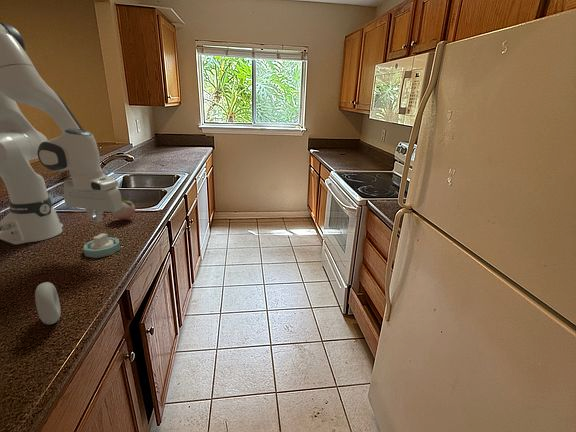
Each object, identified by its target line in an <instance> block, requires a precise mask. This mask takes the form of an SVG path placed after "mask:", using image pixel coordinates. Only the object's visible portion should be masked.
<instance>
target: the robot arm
mask: <svg viewBox="0 0 576 432" xmlns="http://www.w3.org/2000/svg"><path fill="white" fill-rule="evenodd" d="M24 40H25V39H24V38H23V36H22V35H21V33H20V32H19V31H18V29H17V28H15V27H14V26H12V25H10V24H7V23H6V22H0V178H1V180H2V181H3V183H4V185H5V188H6V190H7V194H8V197H9V200H10V202H7V203H6V206H7V207H9V213H7V214H6V215H5V216H4V217H3V218H2V219H1V220H0V229H1V230H0V240H2V241H4V242H7V243H9V244H13V245H14V246H15V245H16V246H17V245H21V244H25V243H32V242H33V243H34V242H35V243H36V242H39V241H44V240H48V239H51V238H54V237H56V236H58V235H60V234H62V232H63V227H64V224H63V223H61V222H60V219H59V216H58V213H57V211H56V209H55V208H54V207H53V204H52V203H53V202H52V198H51V197H50V196H49V194H48V189H47V185H46V183H45V179H44V177H43V176H42V175H41V174H39V173H37V172H36V170H35V169H33V166H32V164H31V163H30V161H33V160H37V159H38V160H39V162H40V163H41V165H42V166H43V167H45V168H46V169H47V170H50V171H57V172H59V171H64V170H65V171H66V170H68V171H69V172H70V174H69V175H70V177H71V179H69V178H68V179H66V180H64V182H63V200H64V203H65V205H66V206H67V207H69V208H76V209H77V208H78V209H85V212H86V213H87V214H88V216H89V217H90V220H91V221H92V222H98V223H100V222H102V221H103V213H104V212H110V213H112V212H116V211H118V210H120V209H121V208H122V206H123V205H122V201H123V199H121V198H122V195H121V191H120V190H119V188H118V186H119V182H118V180H117V179H116V178H113V177H110V176H108V175H106V173H105V174H104V172H103V168H102V167H101V164H100V160H101V156H100V152H99V147H98V144H97V141H96V138H95V136H94V135H93V133H92V132H91V131H88V130H86V129H84V128H83V127H82V125H81V124H80V123H79V121H78V120H77V118H76V117H75V116H74V114H73V112H72V111H71V109H70V108H69V107H68V105H67V104H66V102H65V101H64V100H63V98H62V97H61V96H60V95H59V94H58V93H57V92H56V91H55V90H54V89H52V88H51V87H50V86H49V85H48V84H47V82H46V81H45V80H44V79H43V78H42V77H41V75H40V73H39V72H38V71H37V69H36V67H35V65H34V64H33V61H32V60H31V59H30V57H29V55H28V54H27V53H26V45H25V41H24ZM19 103H20V104H22V105H27V106H29V107H33V108H36V109H37V110H41V112H45V113H46V114H47V115H49V116H50V117H51V118H52V120H53V121H54V123H56V125H57V127H58V128H59V129H60V130H61V132H62V133H60V135H58V136H56V137H54V138H51V139H48V137H46V135H44V134H43V133H41V131H38V130H37V129H36V128H35V127H34V126H33V125H32V124H31V122H30V121H29V120H28V119H27V118H26V116H25V115H24V114H23V112H22V111H21V108H20V107H19V105H18V104H19Z"/></svg>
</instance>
